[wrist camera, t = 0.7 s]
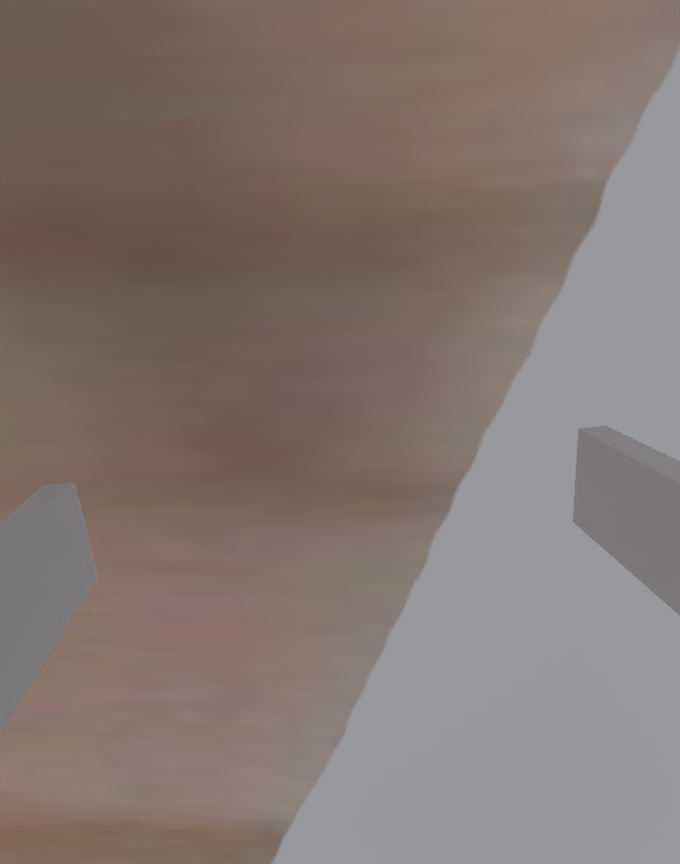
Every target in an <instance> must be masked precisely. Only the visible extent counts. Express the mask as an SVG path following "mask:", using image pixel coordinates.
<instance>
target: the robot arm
mask: <svg viewBox="0 0 680 864" xmlns="http://www.w3.org/2000/svg"><path fill="white" fill-rule="evenodd" d="M577 447H578V448H577V463H576V480H575V498H574V514H573V522H574V523H575V524H576V525H577V526H579V527H580V528H581V529H582V530H583V531H584V532H585V533H586V534H588V535H589V536H590V537H591V538H592V539H593V540H594V541H595V542H597V543H598V544H599V545H600V546H601V547H602V548H603V549H605V550H606V551H607V552H608V553H609V554H610V555H611V556H613V557H614V558H615V559H616V560H617V561H618V562H619V563H621V564H622V565H623V566H624V567H625V568H626V569H628V570H629V571H630V572H631V573H632V574H633V575H634V576H635V577H637V578H638V579H639V580H640V581H641V582H642V583H643V584H645V585H646V586H647V587H648V588H649V589H650V590H651V591H653V592H654V593H655V594H656V595H657V596H658V597H659V598H661V599H662V600H663V601H664V602H665V603H666V604H667V605H668V606H670V607H671V608H672V609H673V610H674V611H675V612H677V613H678V614H679V615H680V461H678V460H676V459H674V458H672V457H669V456H667V455H665V454H663V453H661V452H659V451H657V450H655V449H653V448H651V447H649V446H646V445H645V444H642V443H640V442H638V441H636V440H634V439H632V438H630V437H628V436H626V435H624V434H622V433H620V432H618V431H616V430H613V429H611V428H609V427H607V426H600V427H591V428H581V429H579V430H578V446H577ZM97 579H98V574H97V570H96V566H95V562H94V558H93V554H92V550H91V546H90V542H89V538H88V534H87V530H86V526H85V522H84V518H83V514H82V510H81V506H80V502H79V498H78V494H77V490H76V486H75V482H71V483H61V484H52V485H43V486H42V487H41V488H40V489H38V490H37V491H36V492H35V493H34V494H33V495H31V496H30V497H29V498H28V499H27V500H26V501H24V502H23V503H22V504H21V505H20V506H19V507H18V508H16V509H15V510H14V511H13V512H12V513H11V514H9V515H8V516H7V517H6V518H5V519H4V520H2V521H1V522H0V733H1V732H2V730H3V729H4V727H5V725H6V724H7V722H8V721H9V719H10V717H11V716H12V714H13V713H14V711H15V709H16V708H17V706H18V705H19V703H20V701H21V700H22V698H23V697H24V695H25V693H26V692H27V690H28V689H29V687H30V686H31V684H32V682H33V681H34V679H35V678H36V676H37V674H38V673H39V671H40V670H41V668H42V666H43V665H44V663H45V662H46V660H47V658H48V657H49V655H50V654H51V652H52V651H53V649H54V647H55V646H56V644H57V643H58V641H59V639H60V638H61V636H62V635H63V633H64V631H65V630H66V628H67V627H68V625H69V623H70V622H71V620H72V619H73V617H74V615H75V614H76V612H77V611H78V609H79V608H80V606H81V604H82V603H83V601H84V600H85V598H86V596H87V595H88V593H89V592H90V590H91V588H92V587H93V585H94V584H95V582H96V580H97Z"/></svg>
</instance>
